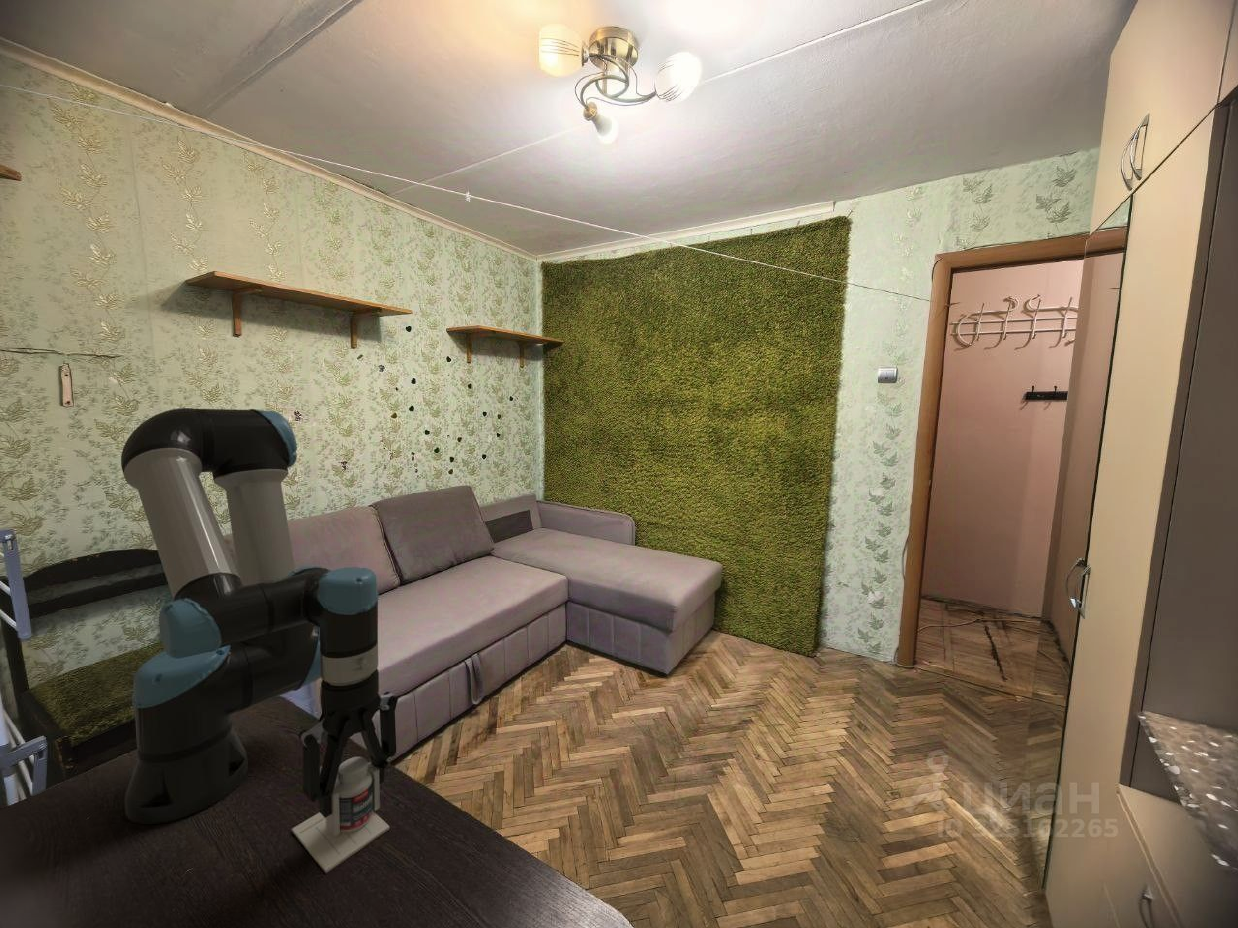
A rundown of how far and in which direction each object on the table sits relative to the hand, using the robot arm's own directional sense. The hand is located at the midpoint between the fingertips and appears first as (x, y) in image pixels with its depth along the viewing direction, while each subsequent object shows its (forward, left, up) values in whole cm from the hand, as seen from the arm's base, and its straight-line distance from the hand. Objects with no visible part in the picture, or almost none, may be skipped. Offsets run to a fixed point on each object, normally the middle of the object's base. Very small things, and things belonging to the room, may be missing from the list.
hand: (353, 817), depth 74 cm
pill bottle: (0, 0, -1) cm, 1 cm away
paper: (0, -2, -1) cm, 2 cm away
